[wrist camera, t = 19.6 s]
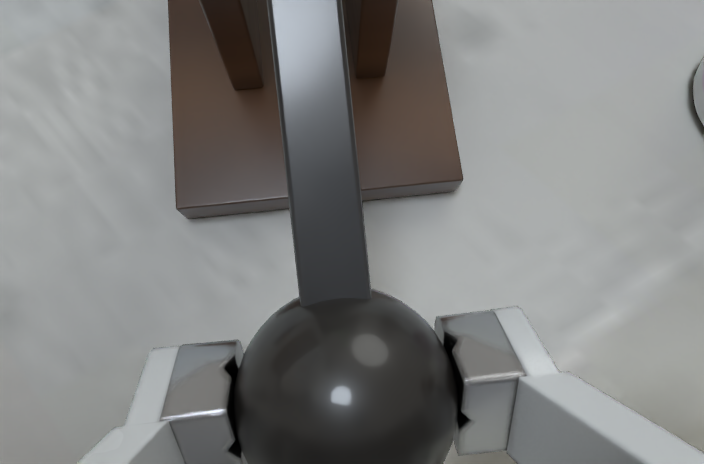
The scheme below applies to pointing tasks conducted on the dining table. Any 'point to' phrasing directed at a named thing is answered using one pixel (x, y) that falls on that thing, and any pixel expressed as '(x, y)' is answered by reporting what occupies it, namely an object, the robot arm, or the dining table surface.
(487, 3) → the dining table surface
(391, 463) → the lever
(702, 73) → the pill bottle
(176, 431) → the robot arm
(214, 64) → the lever bracket
